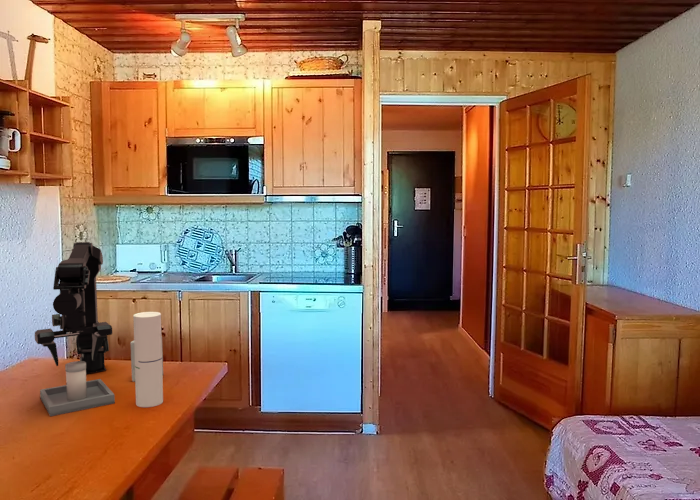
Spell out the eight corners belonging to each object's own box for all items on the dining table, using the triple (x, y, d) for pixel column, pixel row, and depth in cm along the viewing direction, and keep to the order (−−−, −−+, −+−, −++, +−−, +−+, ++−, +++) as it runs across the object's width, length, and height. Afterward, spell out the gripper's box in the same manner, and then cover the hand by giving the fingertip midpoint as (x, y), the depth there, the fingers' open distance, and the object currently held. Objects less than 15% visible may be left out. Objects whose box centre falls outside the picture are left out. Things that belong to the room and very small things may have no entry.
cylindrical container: (154, 408, 152) (152, 317, 149) (130, 406, 153) (127, 316, 151) (167, 398, 159) (165, 312, 156) (145, 396, 160) (142, 311, 158)
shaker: (85, 393, 160) (83, 360, 159) (89, 398, 156) (87, 364, 155) (65, 397, 157) (63, 363, 156) (68, 402, 153) (67, 367, 152)
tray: (100, 386, 168) (100, 378, 168) (114, 403, 155) (114, 394, 155) (40, 398, 158) (39, 389, 158) (50, 416, 146) (49, 407, 145)
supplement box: (164, 374, 180) (163, 336, 178) (153, 382, 172) (152, 342, 171) (142, 374, 180) (141, 335, 179) (130, 381, 173) (129, 341, 172)
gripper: (102, 299, 166) (103, 350, 168) (30, 306, 155) (32, 361, 156) (111, 305, 157) (113, 359, 159) (36, 313, 146) (39, 371, 147)
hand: (75, 362), depth 156 cm, fingers open, 9 cm apart
